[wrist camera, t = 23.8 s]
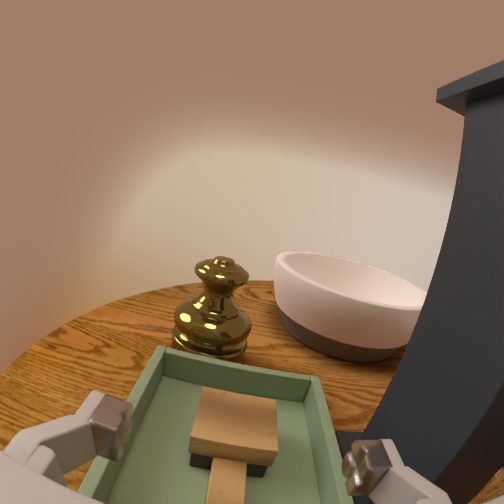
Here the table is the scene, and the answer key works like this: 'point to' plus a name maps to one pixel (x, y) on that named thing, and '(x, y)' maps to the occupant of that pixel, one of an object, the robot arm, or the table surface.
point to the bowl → (345, 305)
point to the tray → (180, 426)
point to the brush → (232, 441)
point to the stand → (457, 320)
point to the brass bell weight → (214, 314)
